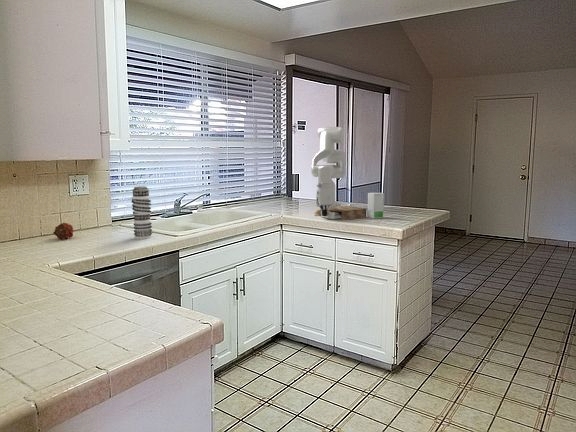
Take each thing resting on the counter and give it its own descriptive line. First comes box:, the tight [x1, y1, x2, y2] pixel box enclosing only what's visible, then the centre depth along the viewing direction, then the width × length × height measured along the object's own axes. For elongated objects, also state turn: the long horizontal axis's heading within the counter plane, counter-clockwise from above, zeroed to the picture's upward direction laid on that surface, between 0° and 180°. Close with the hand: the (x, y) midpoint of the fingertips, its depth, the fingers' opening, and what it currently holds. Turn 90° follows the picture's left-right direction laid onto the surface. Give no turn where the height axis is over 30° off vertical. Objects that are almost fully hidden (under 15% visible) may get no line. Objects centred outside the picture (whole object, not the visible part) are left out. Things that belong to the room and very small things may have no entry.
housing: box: [327, 205, 367, 221], centre depth 289 cm, size 16×20×5 cm
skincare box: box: [366, 192, 385, 219], centre depth 282 cm, size 8×7×16 cm
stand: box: [314, 209, 321, 217], centre depth 295 cm, size 4×4×4 cm
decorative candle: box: [130, 185, 153, 240], centre depth 225 cm, size 9×9×25 cm
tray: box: [320, 209, 342, 220], centre depth 285 cm, size 15×13×4 cm
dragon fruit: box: [53, 222, 74, 240], centre depth 224 cm, size 8×8×12 cm
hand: (324, 215), depth 281 cm, fingers closed
